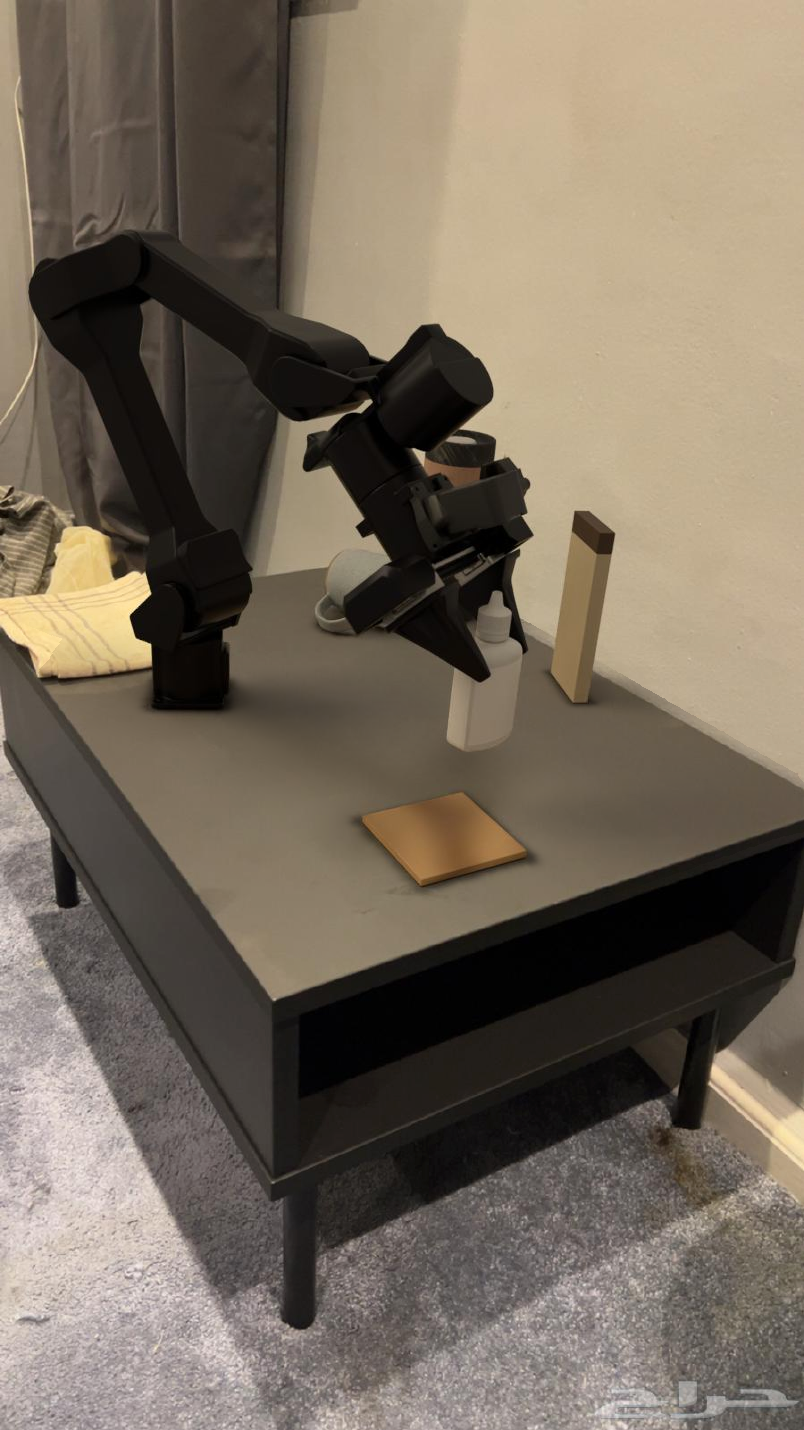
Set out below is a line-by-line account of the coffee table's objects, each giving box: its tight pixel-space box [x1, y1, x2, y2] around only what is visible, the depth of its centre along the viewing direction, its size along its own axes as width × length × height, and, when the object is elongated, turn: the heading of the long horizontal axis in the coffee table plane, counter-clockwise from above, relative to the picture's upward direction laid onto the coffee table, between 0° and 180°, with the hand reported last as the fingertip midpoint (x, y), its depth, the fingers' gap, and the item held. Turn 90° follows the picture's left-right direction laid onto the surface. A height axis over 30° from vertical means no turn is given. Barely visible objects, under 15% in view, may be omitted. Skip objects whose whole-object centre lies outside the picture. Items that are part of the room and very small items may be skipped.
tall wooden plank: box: [550, 510, 616, 704], centre depth 101 cm, size 2×7×17 cm, turn 10°
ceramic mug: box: [314, 548, 396, 633], centre depth 115 cm, size 11×8×8 cm
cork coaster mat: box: [362, 791, 528, 887], centre depth 79 cm, size 9×9×1 cm
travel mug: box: [423, 428, 497, 622], centre depth 116 cm, size 8×8×20 cm
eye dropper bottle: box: [446, 591, 523, 753], centre depth 78 cm, size 4×6×12 cm
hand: (504, 666), depth 77 cm, fingers closed on eye dropper bottle, 5 cm apart
